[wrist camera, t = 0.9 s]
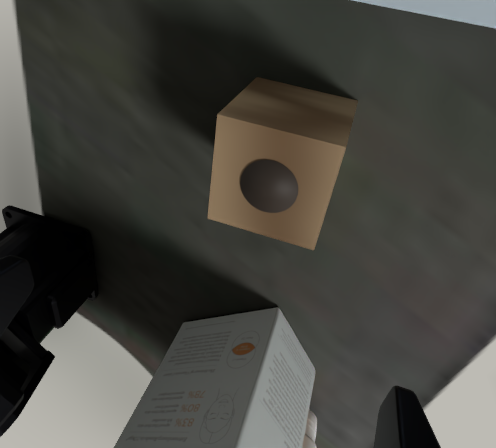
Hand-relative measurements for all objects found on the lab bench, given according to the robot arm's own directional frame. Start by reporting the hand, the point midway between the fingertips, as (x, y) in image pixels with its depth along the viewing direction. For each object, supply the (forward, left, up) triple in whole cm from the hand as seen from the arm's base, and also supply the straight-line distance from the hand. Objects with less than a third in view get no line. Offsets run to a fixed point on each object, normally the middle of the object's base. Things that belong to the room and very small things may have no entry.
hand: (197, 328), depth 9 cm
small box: (0, -16, -12) cm, 20 cm away
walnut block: (0, 0, -12) cm, 12 cm away
